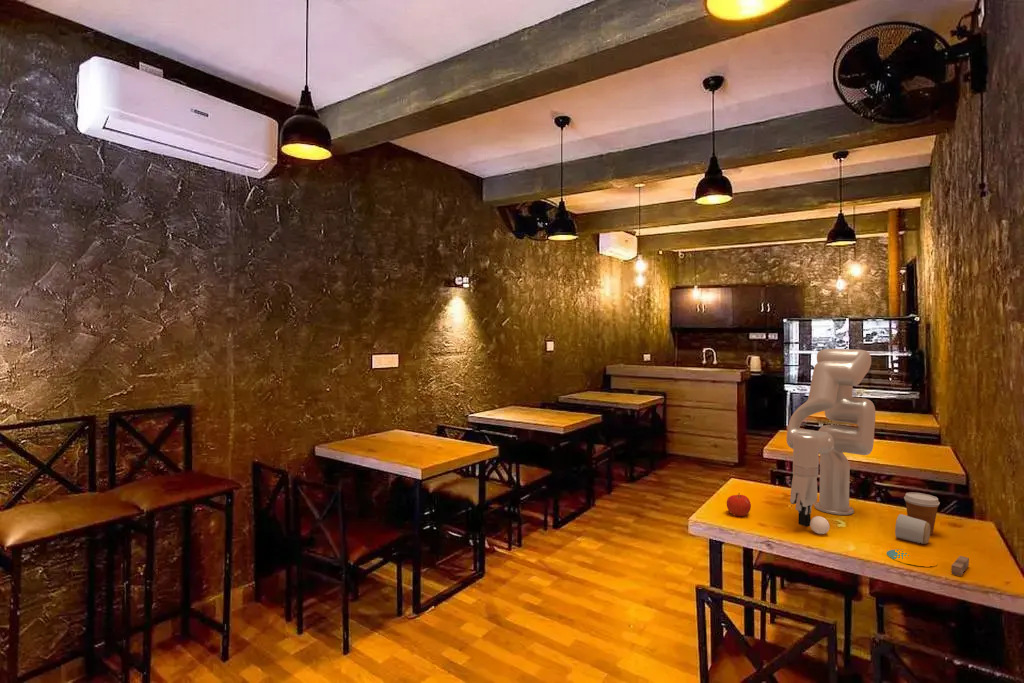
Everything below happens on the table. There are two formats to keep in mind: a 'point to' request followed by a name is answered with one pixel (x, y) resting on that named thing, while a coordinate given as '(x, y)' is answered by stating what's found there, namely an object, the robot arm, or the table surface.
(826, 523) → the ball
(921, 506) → the disposable coffee cup
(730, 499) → the apple
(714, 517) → the table surface
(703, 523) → the table surface
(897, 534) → the grey cylinder
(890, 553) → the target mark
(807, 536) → the table surface
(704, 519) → the table surface
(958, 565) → the strip
